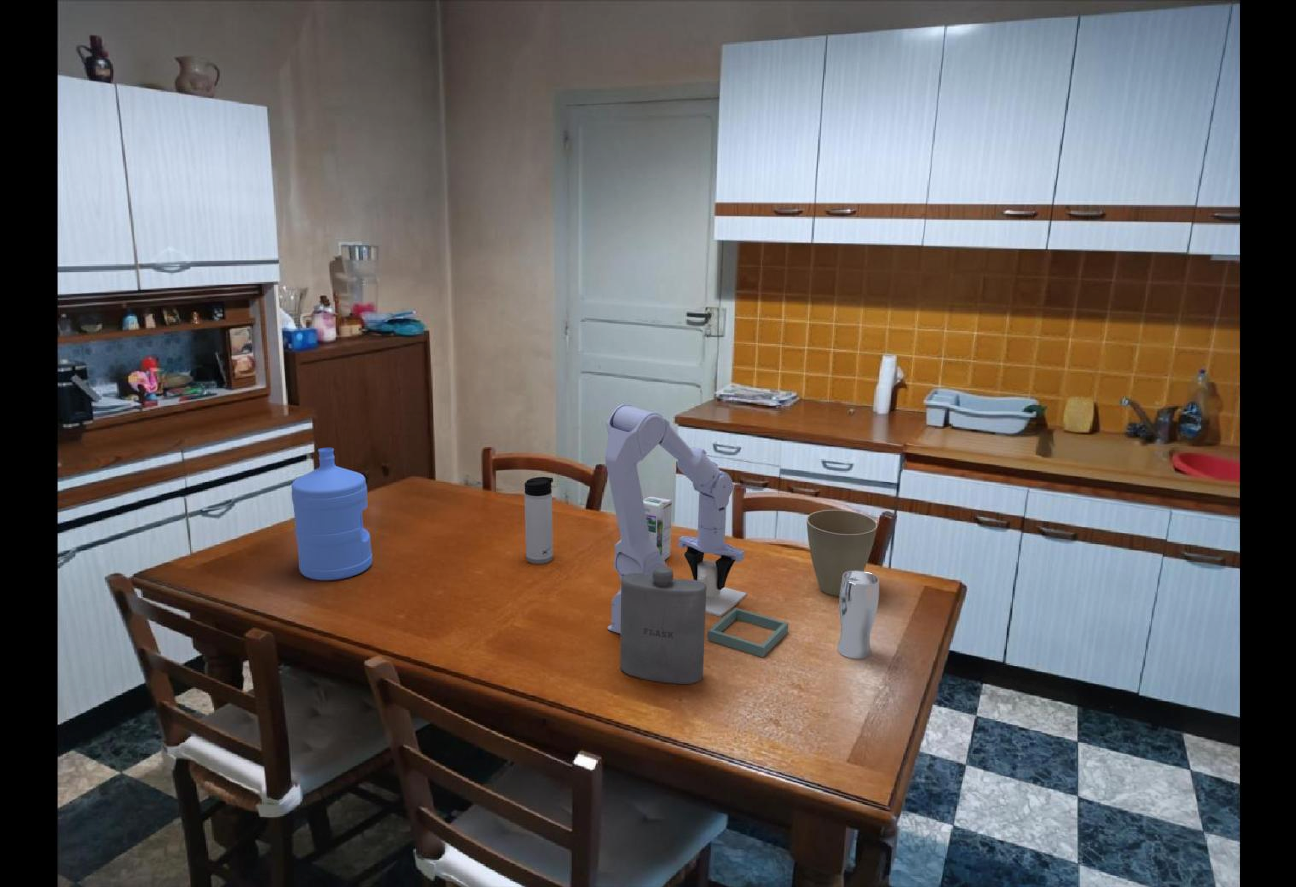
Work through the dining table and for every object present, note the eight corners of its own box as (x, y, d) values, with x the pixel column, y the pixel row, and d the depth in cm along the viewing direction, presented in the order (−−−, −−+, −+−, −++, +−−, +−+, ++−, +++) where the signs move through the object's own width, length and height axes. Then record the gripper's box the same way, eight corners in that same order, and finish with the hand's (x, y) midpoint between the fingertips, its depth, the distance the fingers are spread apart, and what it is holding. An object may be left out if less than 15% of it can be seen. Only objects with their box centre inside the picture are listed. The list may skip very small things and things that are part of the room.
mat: (720, 617, 162) (720, 614, 162) (670, 602, 168) (670, 599, 168) (746, 595, 172) (746, 593, 172) (697, 581, 178) (697, 579, 178)
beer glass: (845, 638, 155) (851, 566, 151) (879, 650, 150) (886, 576, 147) (828, 652, 149) (834, 578, 146) (863, 665, 145) (870, 589, 141)
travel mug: (552, 564, 186) (551, 482, 181) (524, 564, 186) (522, 482, 181) (555, 554, 192) (554, 474, 187) (528, 553, 192) (526, 474, 187)
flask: (615, 676, 140) (616, 570, 135) (624, 659, 146) (625, 557, 140) (699, 689, 137) (703, 581, 132) (705, 671, 142) (709, 567, 137)
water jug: (324, 588, 172) (312, 463, 164) (285, 569, 181) (272, 450, 174) (386, 565, 184) (378, 448, 177) (347, 548, 193) (337, 436, 186)
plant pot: (815, 569, 186) (820, 505, 181) (878, 584, 178) (885, 517, 174) (791, 593, 173) (796, 524, 169) (859, 611, 166) (866, 539, 162)
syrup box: (638, 559, 190) (639, 501, 186) (650, 551, 195) (651, 494, 191) (659, 564, 187) (661, 506, 183) (671, 556, 192) (672, 498, 188)
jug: (702, 584, 173) (703, 559, 171) (723, 589, 171) (725, 563, 169) (689, 596, 167) (690, 570, 166) (712, 601, 165) (713, 575, 163)
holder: (763, 657, 147) (763, 647, 147) (707, 640, 153) (707, 630, 152) (787, 632, 157) (788, 622, 156) (734, 616, 163) (734, 607, 162)
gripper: (751, 526, 165) (748, 586, 169) (690, 512, 173) (688, 570, 176) (736, 536, 160) (733, 598, 163) (674, 521, 167) (672, 581, 171)
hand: (709, 584), depth 169 cm, fingers closed on jug, 5 cm apart
